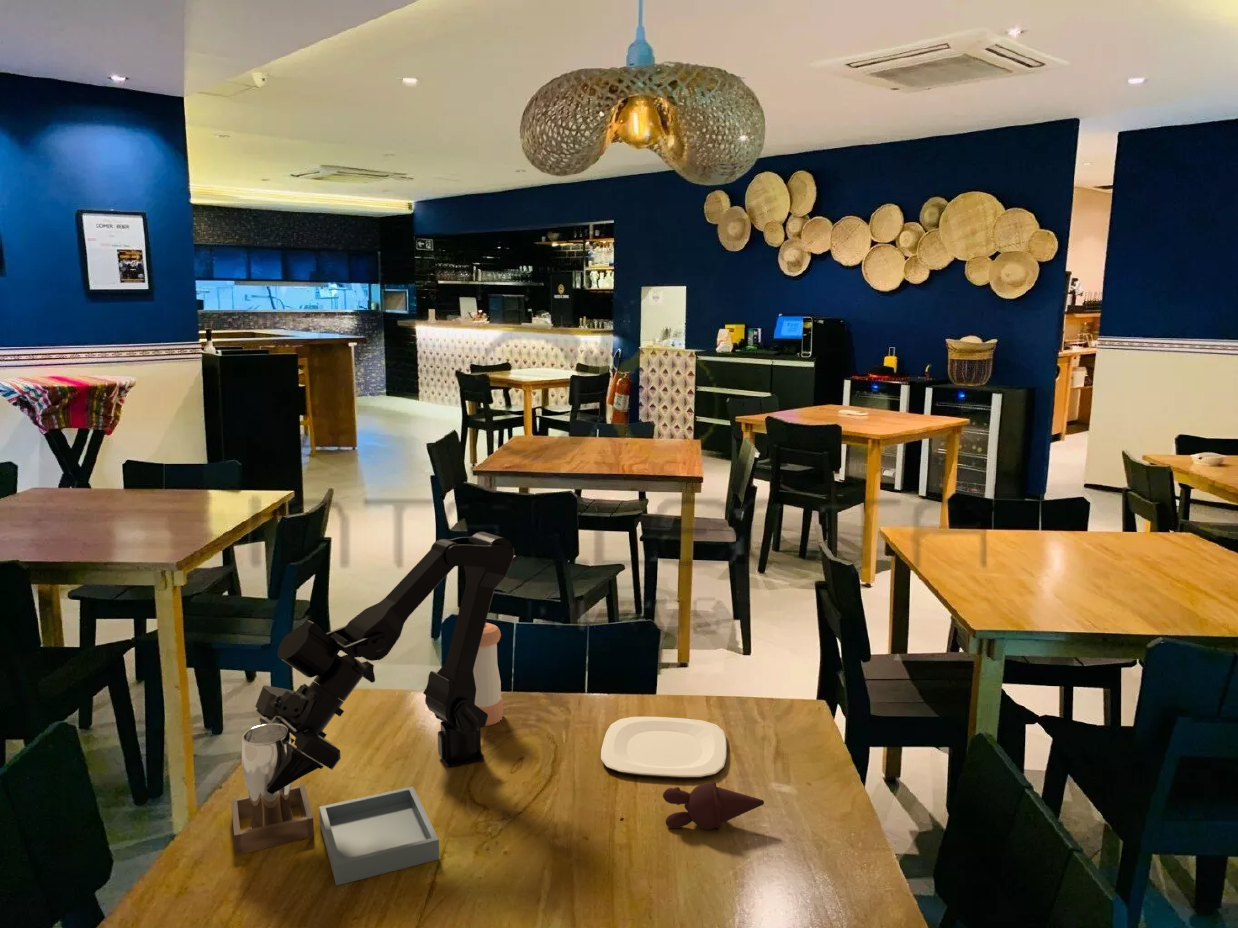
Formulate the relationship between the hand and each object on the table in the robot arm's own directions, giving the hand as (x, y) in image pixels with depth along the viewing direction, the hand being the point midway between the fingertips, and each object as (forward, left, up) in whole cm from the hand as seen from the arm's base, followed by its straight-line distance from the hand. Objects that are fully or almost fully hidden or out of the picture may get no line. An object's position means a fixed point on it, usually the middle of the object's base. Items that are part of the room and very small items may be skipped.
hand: (259, 782), depth 132 cm
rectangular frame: (-1, 0, -8) cm, 8 cm away
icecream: (-61, +27, -8) cm, 67 cm away
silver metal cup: (-1, 0, -8) cm, 8 cm away
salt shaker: (-41, -23, -8) cm, 47 cm away
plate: (-66, +3, -8) cm, 66 cm away
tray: (-15, +10, -8) cm, 19 cm away
